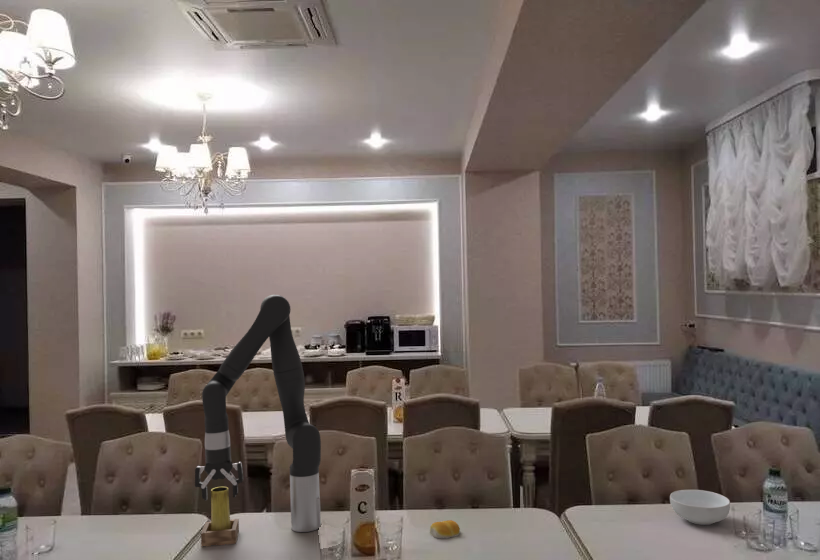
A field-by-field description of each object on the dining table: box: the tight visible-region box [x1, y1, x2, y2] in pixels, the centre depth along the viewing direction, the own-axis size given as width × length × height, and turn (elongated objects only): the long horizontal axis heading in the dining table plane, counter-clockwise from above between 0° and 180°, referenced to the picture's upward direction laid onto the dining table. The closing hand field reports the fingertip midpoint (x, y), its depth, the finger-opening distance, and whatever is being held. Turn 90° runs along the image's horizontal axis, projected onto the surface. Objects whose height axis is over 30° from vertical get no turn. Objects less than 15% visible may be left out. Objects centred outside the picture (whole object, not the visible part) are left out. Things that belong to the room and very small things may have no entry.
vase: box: [210, 486, 231, 531], centre depth 196 cm, size 6×6×14 cm
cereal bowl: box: [669, 489, 731, 526], centre depth 197 cm, size 17×17×7 cm
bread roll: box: [429, 519, 461, 539], centre depth 194 cm, size 8×9×4 cm
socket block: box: [200, 518, 240, 548], centre depth 196 cm, size 10×10×4 cm
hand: (220, 498), depth 196 cm, fingers open, 8 cm apart
